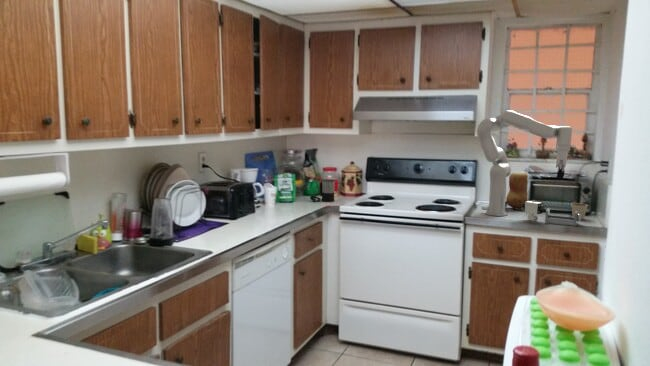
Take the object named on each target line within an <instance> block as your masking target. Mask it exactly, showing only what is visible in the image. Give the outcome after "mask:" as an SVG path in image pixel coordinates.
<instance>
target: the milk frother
mask: <svg viewBox="0 0 650 366" xmlns="http://www.w3.org/2000/svg"><path fill="white" fill-rule="evenodd" d="M335 183H336V180H335V179H330V178H329V179H326V178H325V179H322V180H321V181H320V183H319V196H321V198H320V197H318V196H316V195H311V196H310V197H309V199H310V200H311V201H312V202H320V201H321V202H325V203H332V202H335V188H336V187H335V186H336V185H335Z"/></svg>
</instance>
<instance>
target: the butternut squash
mask: <svg viewBox="0 0 650 366" xmlns="http://www.w3.org/2000/svg"><path fill="white" fill-rule="evenodd" d="M508 179H509V180H508V186H509V187H508V188H509V190H508V193H507V194H506V200H505V202H506V203H507V205H508V207H510V208H511V209H514V210H523V209H522V204H523V203H524V202H525V201H527V195H528V196H529V194H528V183H529V180H528V173H526V172H525V171H523V170H521V171H513V172H511V173H510V175H509V178H508Z"/></svg>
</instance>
